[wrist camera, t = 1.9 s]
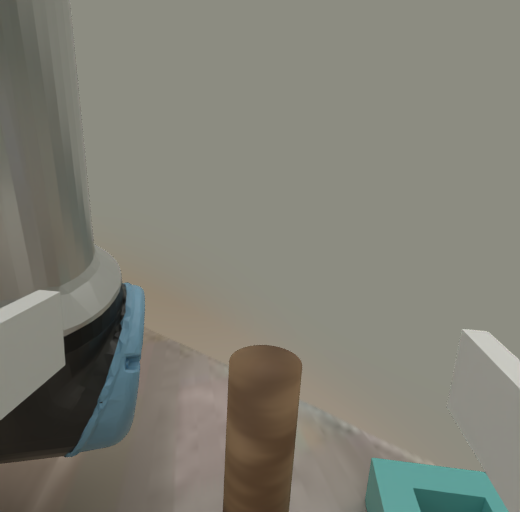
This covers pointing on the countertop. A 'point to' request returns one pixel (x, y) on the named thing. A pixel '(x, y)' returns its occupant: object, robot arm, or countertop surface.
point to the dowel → (261, 429)
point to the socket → (428, 489)
